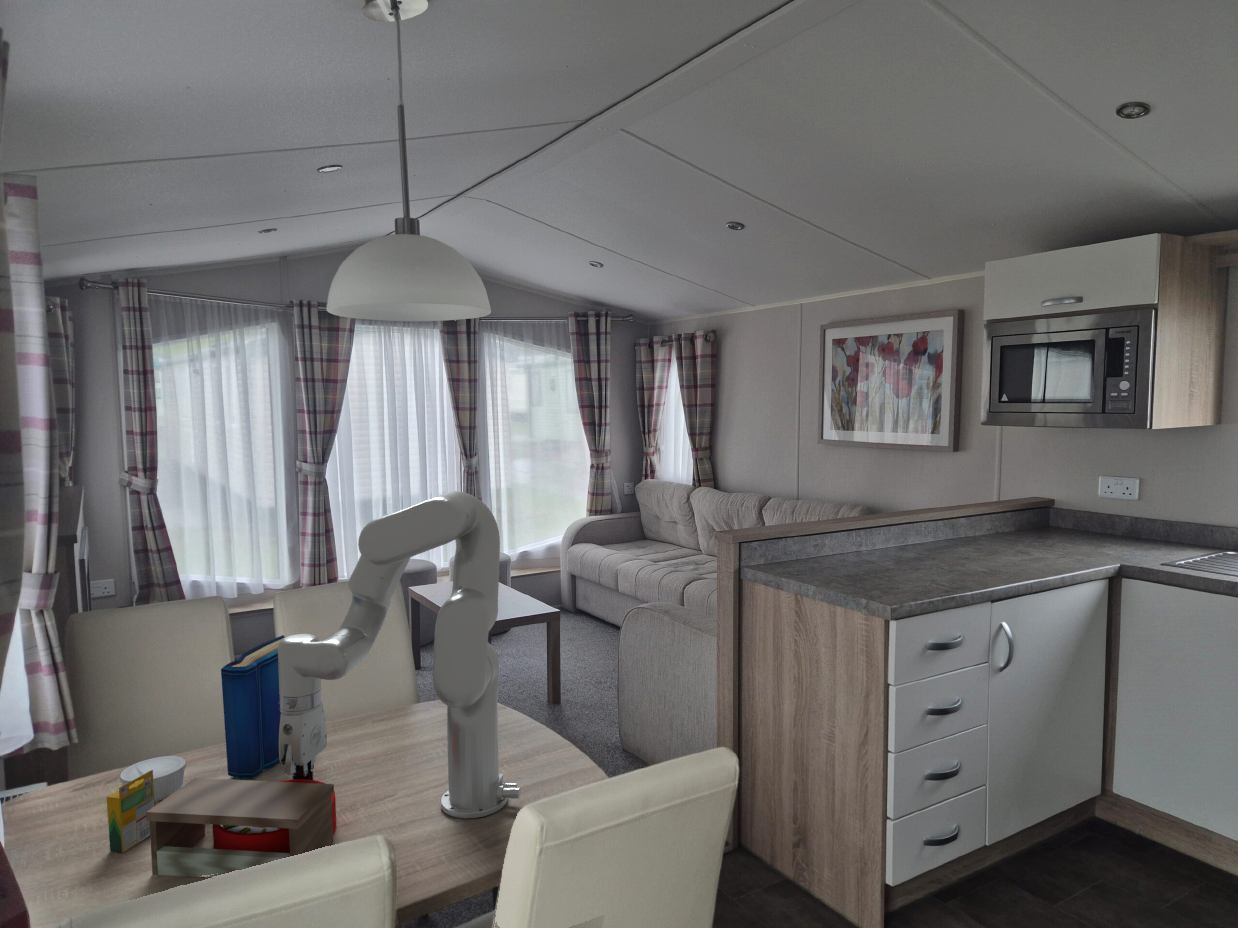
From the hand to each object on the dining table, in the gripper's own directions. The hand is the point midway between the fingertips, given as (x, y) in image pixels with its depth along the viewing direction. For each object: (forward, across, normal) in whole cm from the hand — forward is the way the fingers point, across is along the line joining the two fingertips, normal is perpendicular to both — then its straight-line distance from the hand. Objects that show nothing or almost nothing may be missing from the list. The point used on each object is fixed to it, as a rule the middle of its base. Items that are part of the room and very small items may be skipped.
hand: (303, 792), depth 151 cm
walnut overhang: (+2, -20, 0) cm, 20 cm away
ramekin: (+2, 0, +32) cm, 32 cm away
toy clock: (+2, -12, -2) cm, 13 cm away
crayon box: (+2, -17, +23) cm, 28 cm away
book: (+2, +16, +17) cm, 24 cm away
